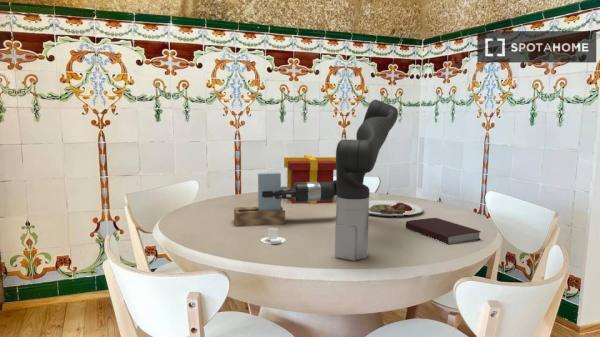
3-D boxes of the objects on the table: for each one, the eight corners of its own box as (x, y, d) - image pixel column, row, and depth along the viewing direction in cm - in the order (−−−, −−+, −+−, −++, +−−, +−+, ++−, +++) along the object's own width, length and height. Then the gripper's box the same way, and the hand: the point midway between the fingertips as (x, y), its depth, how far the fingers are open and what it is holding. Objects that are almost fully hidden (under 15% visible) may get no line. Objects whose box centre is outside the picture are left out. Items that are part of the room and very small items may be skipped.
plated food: (337, 208, 190) (337, 201, 190) (384, 201, 208) (385, 194, 208) (390, 222, 166) (390, 214, 166) (438, 212, 184) (438, 204, 184)
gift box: (282, 194, 221) (282, 154, 219) (330, 194, 224) (331, 154, 221) (286, 205, 196) (286, 160, 194) (340, 204, 199) (341, 159, 197)
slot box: (280, 218, 170) (280, 205, 170) (285, 224, 161) (285, 210, 161) (234, 220, 166) (234, 207, 166) (236, 226, 158) (235, 212, 157)
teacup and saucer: (282, 246, 135) (282, 233, 135) (257, 245, 136) (257, 232, 136) (287, 238, 144) (287, 226, 143) (264, 237, 145) (264, 225, 145)
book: (447, 246, 138) (447, 234, 137) (405, 229, 157) (405, 219, 157) (481, 241, 143) (481, 230, 143) (436, 226, 163) (436, 216, 162)
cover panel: (279, 219, 166) (279, 172, 164) (281, 221, 163) (280, 173, 160) (258, 220, 164) (257, 173, 162) (259, 222, 161) (259, 174, 159)
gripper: (302, 179, 171) (259, 180, 168) (311, 185, 158) (264, 186, 154) (302, 198, 172) (259, 200, 169) (311, 205, 159) (264, 207, 155)
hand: (261, 193), depth 161 cm, fingers closed on cover panel, 3 cm apart
